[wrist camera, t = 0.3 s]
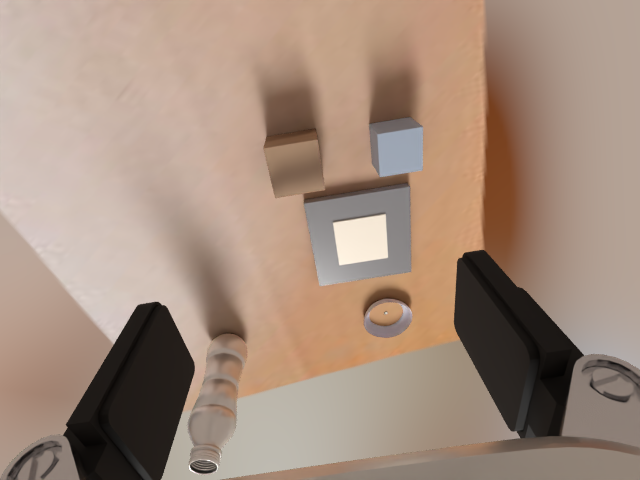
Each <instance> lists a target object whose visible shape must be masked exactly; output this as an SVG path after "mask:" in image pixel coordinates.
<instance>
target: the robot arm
mask: <svg viewBox="0 0 640 480" xmlns="http://www.w3.org/2000/svg"><path fill="white" fill-rule="evenodd" d="M454 325H455V329H456V332H457V334H458V336H459V338H460V340H461V341H462V343H463V345H464V347H465V349H466V350H467V352H468V354H469V356H470V358H471V360H472V361H473V364H474V365H475V367H476V369H477V371H478V373H479V375H480V376H481V378H482V380H483V382H484V384H485V385H486V387H487V389H488V391H489V393H490V395H491V397H492V398H493V400H494V402H495V404H496V406H497V408H498V409H499V411H500V413H501V415H502V417H503V419H504V421H505V422H506V424H507V426H508V428H509V429H510V430H511V431H517V433H518V434H519V436H520V439H512V440H503V441H494V442H486V443H479V444H470V445H461V446H454V447H446V448H440V449H432V450H425V451H417V452H410V453H403V454H396V455H389V456H382V457H374V458H367V459H361V460H353V461H346V462H339V463H333V464H325V465H318V466H311V467H304V468H297V469H290V470H284V471H277V472H270V473H263V474H256V475H249V476H242V477H236V478H229V479H222V480H640V370H639V369H638V368H636V367H634V366H633V365H631V364H629V363H628V362H625V361H623V360H621V359H618V358H616V357H611V356H607V355H599V354H591V355H587V356H584V355H583V354H582V352H580V350H579V349H578V348H577V347H576V346H575V345H574V344H573V343H572V341H571V340H570V339H569V338H568V337H567V336H566V335H565V334H564V333H563V332H562V331H561V329H560V328H559V327H558V326H557V325H556V324H555V323H554V322H553V321H552V319H551V318H550V317H549V316H548V315H547V314H546V313H545V312H544V311H543V309H542V308H541V307H540V306H539V305H538V304H537V303H536V302H535V301H534V300H533V299H532V297H531V296H530V295H529V294H528V293H527V292H526V291H525V290H524V289H522V288H519V287H517V286H516V285H515V284H514V283H513V282H512V281H511V280H510V278H509V277H508V276H507V275H506V274H505V273H504V272H503V271H502V269H501V268H500V267H499V266H498V265H497V264H496V263H495V262H494V260H493V259H492V258H491V257H490V256H489V255H488V254H487V252H486V251H484V250H479V251H473V252H466V253H464V254H463V257H462V258H459V259H458V261H457V277H456V295H455V313H454ZM194 371H195V365H194V361H193V359H192V357H191V355H190V353H189V351H188V349H187V347H186V345H185V343H184V341H183V339H182V337H181V335H180V333H179V331H178V329H177V327H176V325H175V323H174V321H173V318H172V316H171V314H170V312H169V310H168V308H167V307H166V306H165V305H161V304H160V303H159V302H152V303H146V304H140V305H138V306H137V307H136V309H135V310H134V312H133V314H132V315H131V317H130V319H129V320H128V322H127V324H126V325H125V327H124V329H123V330H122V332H121V334H120V335H119V337H118V339H117V340H116V342H115V344H114V345H113V347H112V349H111V351H110V352H109V354H108V355H107V357H106V359H105V360H104V362H103V364H102V365H101V367H100V369H99V371H98V372H97V374H96V375H95V377H94V379H93V380H92V382H91V384H90V385H89V387H88V389H87V391H86V392H85V394H84V396H83V397H82V399H81V400H80V402H79V404H78V405H77V407H76V409H75V410H74V412H73V414H72V415H71V417H70V419H69V420H68V422H67V424H66V426H67V427H68V428H67V430H66V431H65V433H64V435H63V436H62V435H50V436H47V437H44V438H41V439H40V440H38V441H36V442H35V443H32V444H31V445H30V446H28V447H27V448H25V449H24V450H23V451H21V452H20V453H19V454H18V455H17V456H16V457H15V458H14V459H13V460H12V461H11V463H10V464H9V465H8V466H7V468H6V469H5V471H4V472H3V474H2V476H1V478H0V480H161V478H162V476H163V473H164V469H165V466H166V463H167V460H168V456H169V453H170V450H171V447H172V443H173V440H174V437H175V434H176V431H177V427H178V424H179V421H180V418H181V414H182V411H183V408H184V405H185V401H186V398H187V395H188V392H189V388H190V385H191V382H192V379H193V375H194Z"/></svg>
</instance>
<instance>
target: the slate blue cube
mask: <svg viewBox="0 0 640 480" xmlns="http://www.w3.org/2000/svg"><path fill="white" fill-rule="evenodd" d="M369 129H370V142H371V156H372V164H373V166H374V168H375V169H376V171H377V173H378V175H379V176H380V177H385V176H391V175H397V174H403V173H409V172H415V171H422V170H423V126H421V125H420V124H419V123H417V122H416V121H415V120H413V119H412V118H411V117H407V118H401V119H395V120H389V121H383V122H377V123H371V124H369Z"/></svg>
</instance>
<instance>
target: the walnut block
mask: <svg viewBox="0 0 640 480" xmlns="http://www.w3.org/2000/svg"><path fill="white" fill-rule="evenodd" d="M264 153H265V157H266V161H267V166H268V170H269V174H270V178H271V182H272V187H273V191H274V195H275V198H280V197H286V196H292V195H298V194H304V193H310V192H316V191H323V190H325V184H324V178H323V171H322V164H321V158H320V151H319V145H318V138H317V134H316V129H310V130H304V131H298V132H292V133H286V134H280V135H274V136H268V137H266V141H265V145H264Z"/></svg>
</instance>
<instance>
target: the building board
mask: <svg viewBox="0 0 640 480" xmlns="http://www.w3.org/2000/svg"><path fill="white" fill-rule="evenodd" d="M304 207H305V212H306V217H307V222H308V228H309V233H310V238H311V243H312V248H313V254H314V259H315V264H316V269H317V275H318V280H319V285H320V286H324V285H330V284H337V283H343V282H349V281H356V280H362V279H369V278H375V277H382V276H388V275H395V274H401V273H407V272H411V225H410V186H409V185H408V183H405V184H399V185H393V186H386V187H380V188H374V189H368V190H362V191H356V192H349V193H343V194H337V195H331V196H325V197H319V198H312V199H306V200H304Z"/></svg>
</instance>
